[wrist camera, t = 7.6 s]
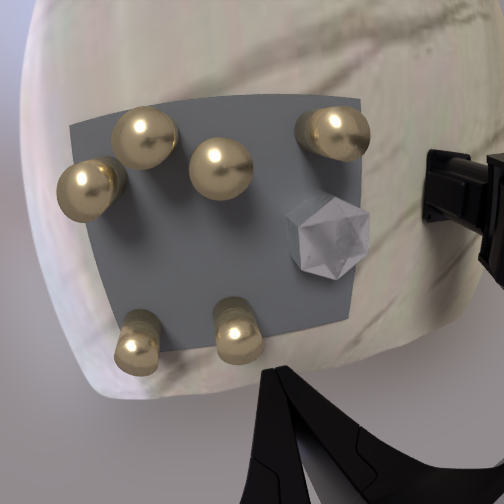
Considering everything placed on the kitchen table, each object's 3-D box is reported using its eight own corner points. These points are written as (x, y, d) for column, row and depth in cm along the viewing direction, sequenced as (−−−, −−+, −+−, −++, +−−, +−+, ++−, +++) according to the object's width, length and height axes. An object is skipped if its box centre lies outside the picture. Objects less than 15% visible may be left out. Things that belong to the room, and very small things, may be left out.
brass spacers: (335, 103, 16) (369, 99, 12) (329, 309, 23) (350, 339, 19) (76, 130, 13) (47, 132, 10) (130, 340, 20) (123, 377, 17)
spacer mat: (356, 99, 16) (360, 99, 16) (345, 315, 24) (348, 318, 23) (72, 125, 14) (69, 125, 13) (131, 350, 21) (130, 354, 21)
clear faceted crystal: (334, 176, 18) (352, 182, 16) (365, 228, 20) (383, 240, 18) (268, 229, 19) (278, 242, 16) (307, 276, 21) (320, 293, 19)
